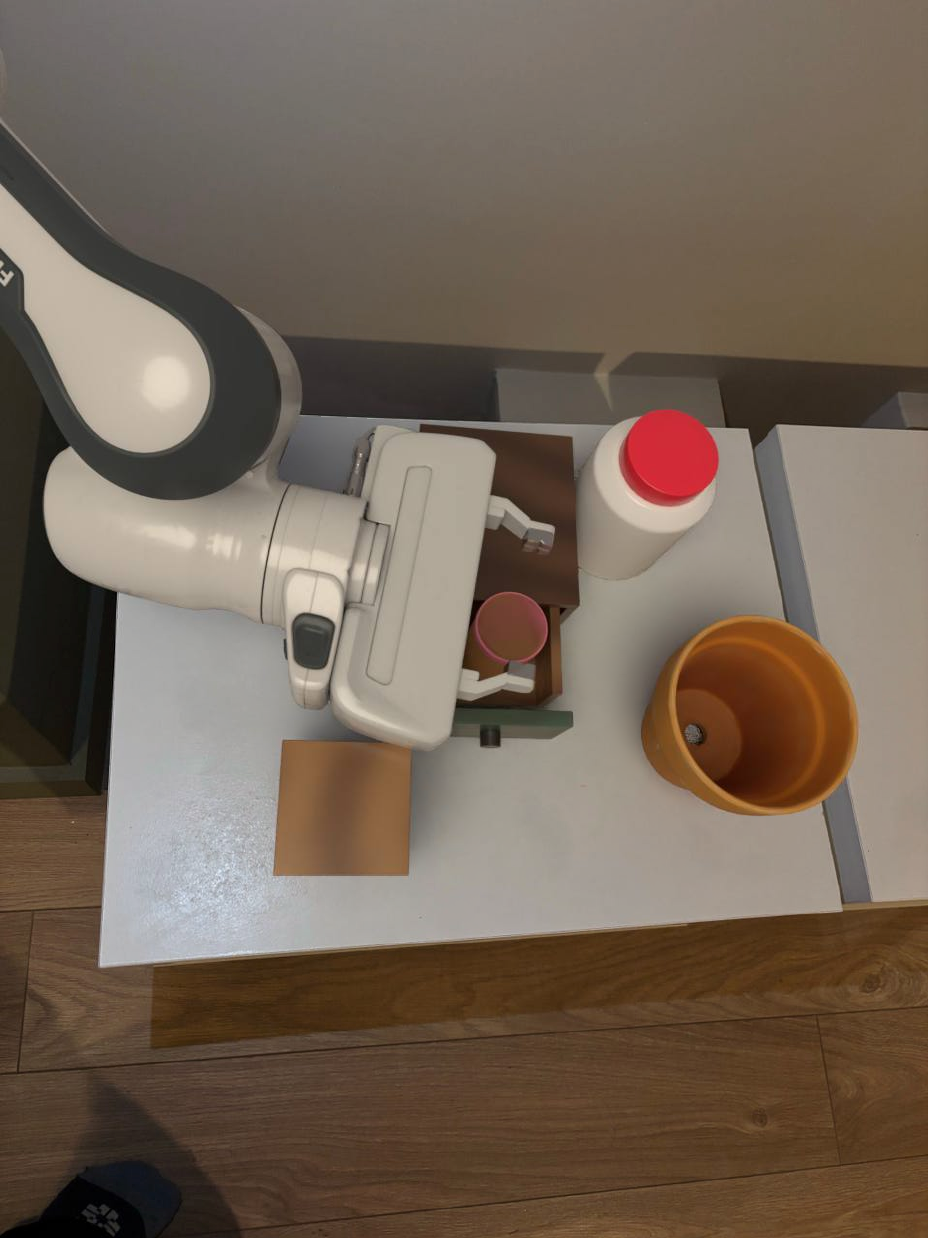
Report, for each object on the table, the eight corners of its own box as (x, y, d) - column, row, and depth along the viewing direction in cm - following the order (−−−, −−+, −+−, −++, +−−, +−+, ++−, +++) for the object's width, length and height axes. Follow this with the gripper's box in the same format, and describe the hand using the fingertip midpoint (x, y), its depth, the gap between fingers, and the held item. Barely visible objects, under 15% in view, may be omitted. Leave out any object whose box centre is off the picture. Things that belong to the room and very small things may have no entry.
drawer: (551, 754, 66) (574, 743, 60) (412, 750, 64) (420, 739, 58) (546, 583, 70) (567, 557, 64) (415, 576, 68) (424, 548, 62)
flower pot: (628, 836, 65) (697, 829, 53) (593, 667, 69) (651, 624, 57) (784, 810, 68) (884, 798, 56) (743, 649, 72) (828, 604, 60)
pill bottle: (541, 488, 73) (590, 403, 60) (641, 468, 76) (710, 382, 62) (575, 591, 71) (634, 526, 57) (677, 567, 73) (757, 499, 60)
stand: (285, 873, 61) (272, 875, 47) (291, 766, 63) (282, 739, 50) (391, 873, 62) (409, 875, 49) (394, 768, 64) (411, 742, 51)
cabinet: (552, 634, 70) (580, 605, 62) (406, 627, 68) (416, 596, 60) (547, 480, 74) (572, 436, 66) (410, 470, 72) (419, 423, 64)
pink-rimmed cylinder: (453, 691, 65) (475, 661, 55) (454, 628, 66) (475, 589, 57) (517, 693, 65) (549, 664, 56) (516, 631, 67) (546, 593, 57)
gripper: (358, 443, 56) (549, 486, 57) (292, 731, 50) (510, 772, 51) (361, 392, 50) (575, 441, 52) (287, 712, 44) (534, 759, 45)
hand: (542, 608), depth 51 cm, fingers open, 8 cm apart
